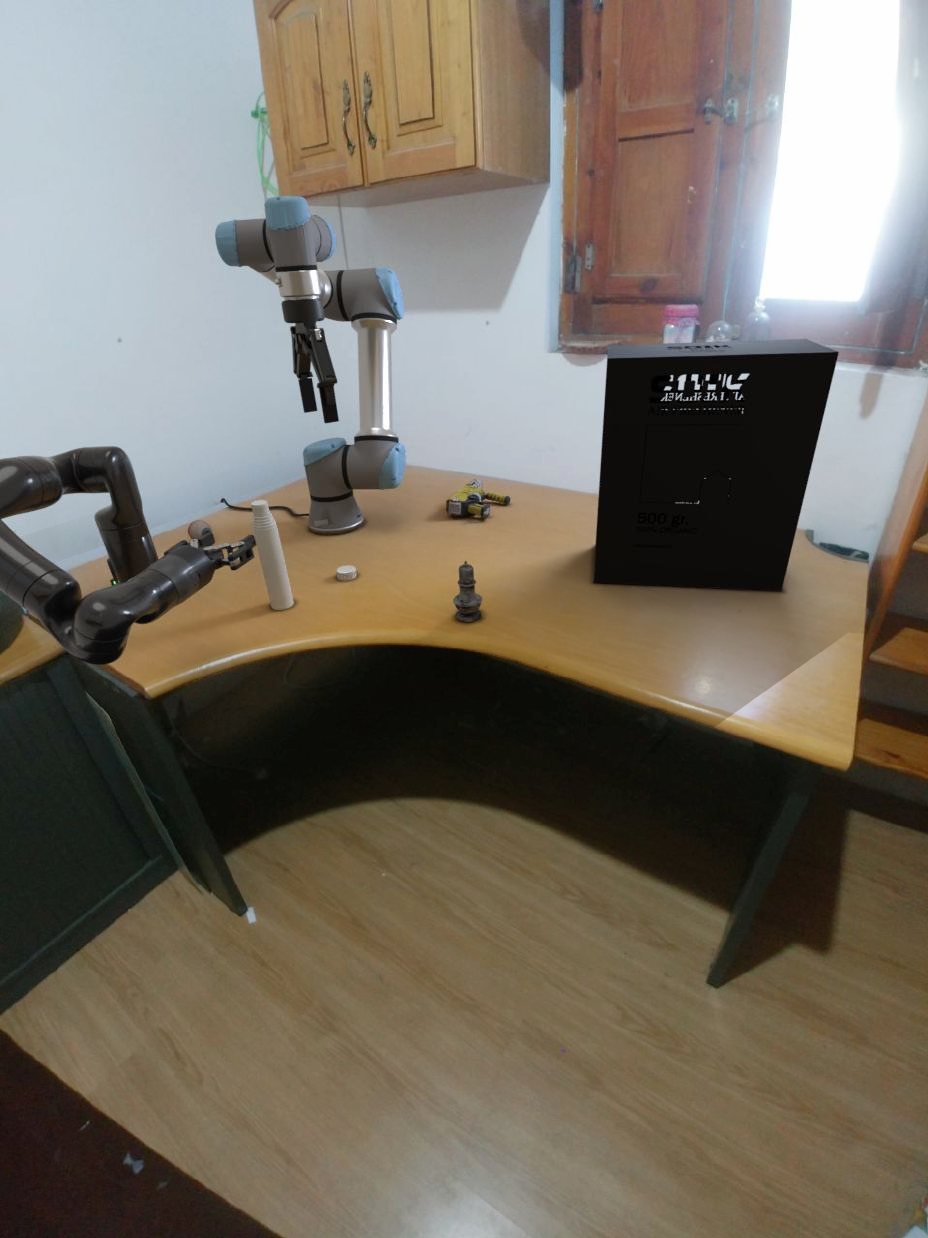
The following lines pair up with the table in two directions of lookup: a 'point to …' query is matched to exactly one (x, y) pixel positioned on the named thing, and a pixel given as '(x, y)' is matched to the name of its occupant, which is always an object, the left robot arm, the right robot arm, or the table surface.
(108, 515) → the left robot arm
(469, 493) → the toy gun
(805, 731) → the table surface
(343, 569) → the cap
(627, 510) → the cardboard box
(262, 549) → the bottle
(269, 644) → the table surface
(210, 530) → the eyeball
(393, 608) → the table surface
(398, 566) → the table surface
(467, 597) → the grey tall ringed piece
